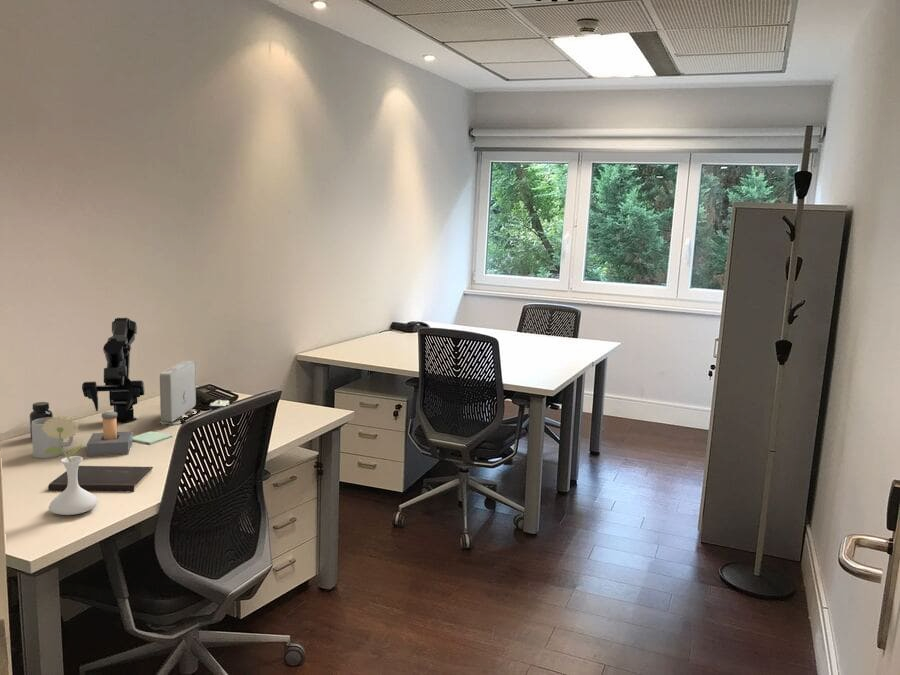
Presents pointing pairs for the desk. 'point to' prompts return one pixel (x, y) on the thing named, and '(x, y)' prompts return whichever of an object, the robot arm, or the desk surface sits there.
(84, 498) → the flower in vase
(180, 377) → the network device
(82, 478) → the hardcover book
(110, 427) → the plug
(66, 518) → the desk surface
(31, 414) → the supplement bottle
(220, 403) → the pneumatic valve
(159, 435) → the mat
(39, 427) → the mug
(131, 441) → the grey peg hole block
